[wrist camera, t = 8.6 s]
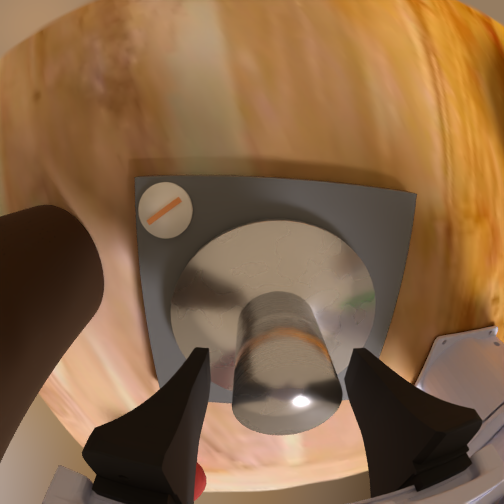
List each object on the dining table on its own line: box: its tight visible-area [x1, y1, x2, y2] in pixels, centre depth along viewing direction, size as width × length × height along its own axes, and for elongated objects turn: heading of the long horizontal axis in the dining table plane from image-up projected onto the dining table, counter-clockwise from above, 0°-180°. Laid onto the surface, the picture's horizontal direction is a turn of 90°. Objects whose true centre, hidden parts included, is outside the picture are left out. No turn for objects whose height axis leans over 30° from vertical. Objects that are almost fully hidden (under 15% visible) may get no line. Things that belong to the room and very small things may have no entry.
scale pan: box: [171, 219, 376, 391], centre depth 16 cm, size 12×12×1 cm
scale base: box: [135, 175, 417, 403], centre depth 17 cm, size 16×16×2 cm
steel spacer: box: [232, 291, 343, 435], centre depth 13 cm, size 4×4×6 cm
